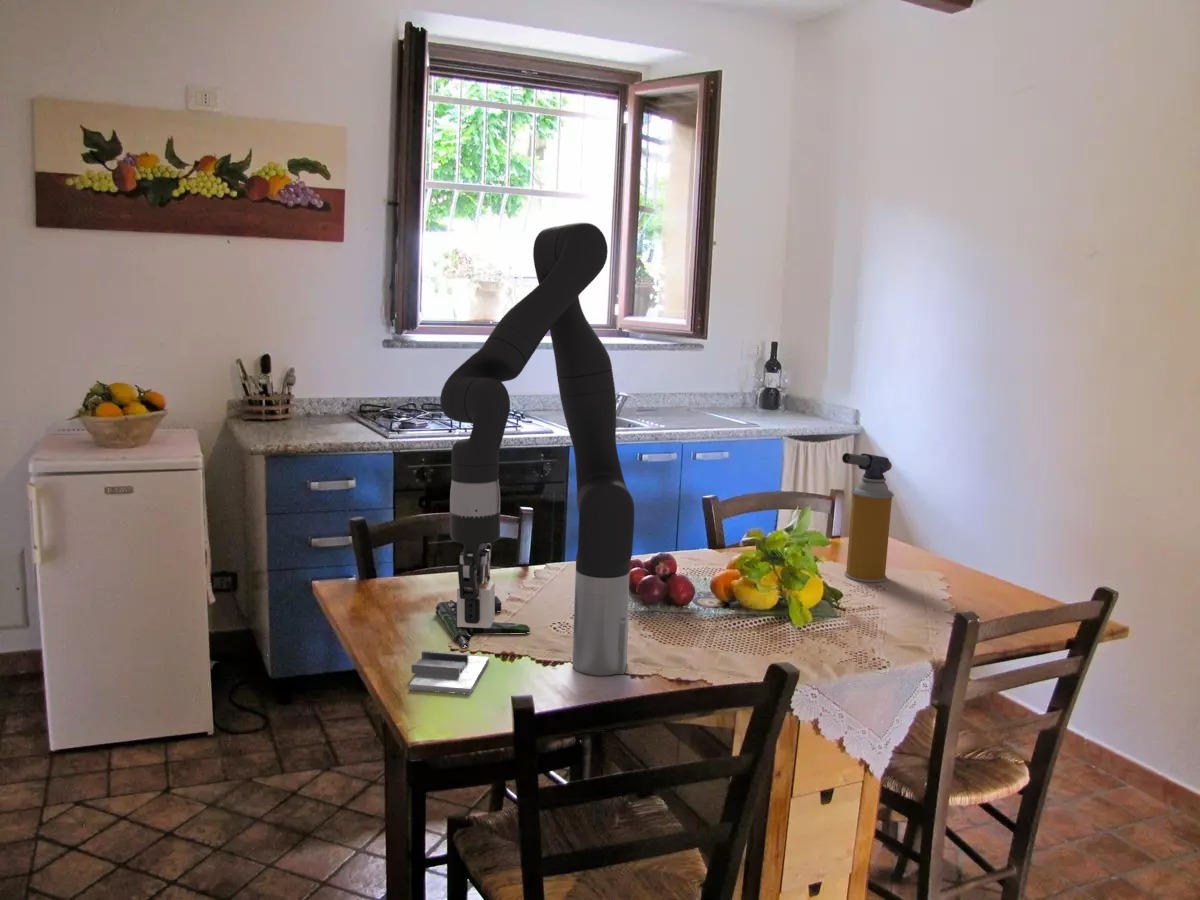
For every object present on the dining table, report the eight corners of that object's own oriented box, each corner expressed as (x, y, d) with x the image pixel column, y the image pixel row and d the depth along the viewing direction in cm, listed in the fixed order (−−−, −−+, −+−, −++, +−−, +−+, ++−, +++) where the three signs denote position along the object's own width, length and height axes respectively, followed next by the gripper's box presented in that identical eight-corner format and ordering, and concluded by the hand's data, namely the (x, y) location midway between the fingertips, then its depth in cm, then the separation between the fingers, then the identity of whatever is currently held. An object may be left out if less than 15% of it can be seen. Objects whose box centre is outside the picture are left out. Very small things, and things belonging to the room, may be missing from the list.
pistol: (536, 649, 191) (457, 654, 186) (503, 607, 211) (431, 611, 205) (538, 633, 191) (458, 637, 185) (504, 592, 210) (432, 595, 204)
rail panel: (488, 662, 179) (489, 649, 179) (470, 694, 165) (470, 680, 165) (426, 658, 180) (426, 644, 180) (403, 689, 166) (403, 675, 166)
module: (494, 619, 161) (494, 580, 159) (489, 628, 157) (489, 588, 156) (462, 618, 161) (462, 579, 160) (457, 626, 157) (456, 587, 156)
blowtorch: (895, 578, 239) (907, 450, 234) (853, 589, 229) (863, 456, 224) (862, 568, 246) (872, 444, 241) (819, 579, 236) (828, 449, 231)
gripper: (490, 520, 148) (490, 634, 151) (508, 499, 162) (507, 604, 165) (439, 518, 149) (440, 632, 152) (460, 497, 163) (461, 602, 166)
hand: (475, 617), depth 159 cm, fingers closed on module, 4 cm apart
